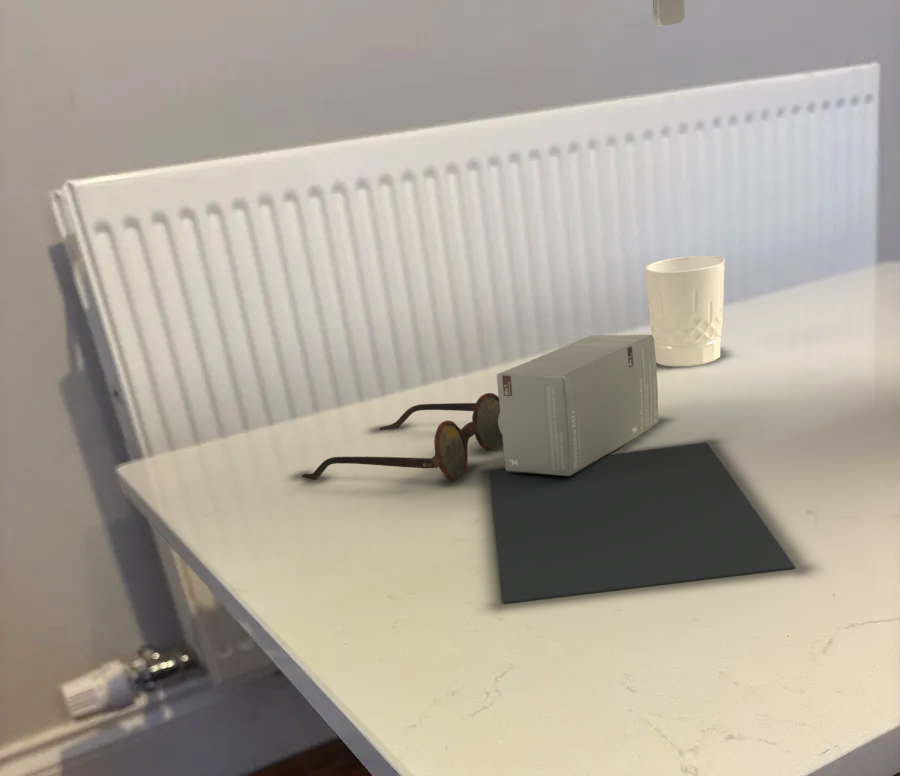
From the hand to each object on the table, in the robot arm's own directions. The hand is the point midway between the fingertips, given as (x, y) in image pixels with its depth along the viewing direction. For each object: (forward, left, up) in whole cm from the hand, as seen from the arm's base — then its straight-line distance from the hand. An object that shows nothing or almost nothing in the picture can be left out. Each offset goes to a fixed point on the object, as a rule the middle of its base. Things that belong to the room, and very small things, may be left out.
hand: (668, 25), depth 75 cm
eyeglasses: (+24, -2, -31) cm, 39 cm away
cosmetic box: (+4, -5, -27) cm, 28 cm away
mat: (+8, +17, -31) cm, 36 cm away
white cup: (-5, -22, -31) cm, 39 cm away
